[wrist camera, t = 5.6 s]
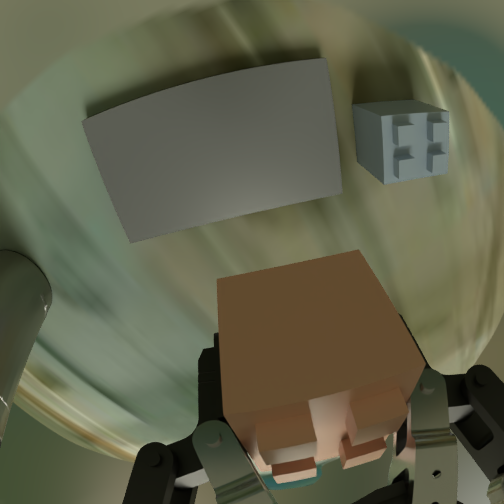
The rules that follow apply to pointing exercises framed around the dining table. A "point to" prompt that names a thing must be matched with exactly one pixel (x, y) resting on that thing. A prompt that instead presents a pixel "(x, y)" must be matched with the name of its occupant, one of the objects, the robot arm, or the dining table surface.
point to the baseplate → (219, 147)
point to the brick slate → (401, 139)
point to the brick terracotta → (313, 364)
